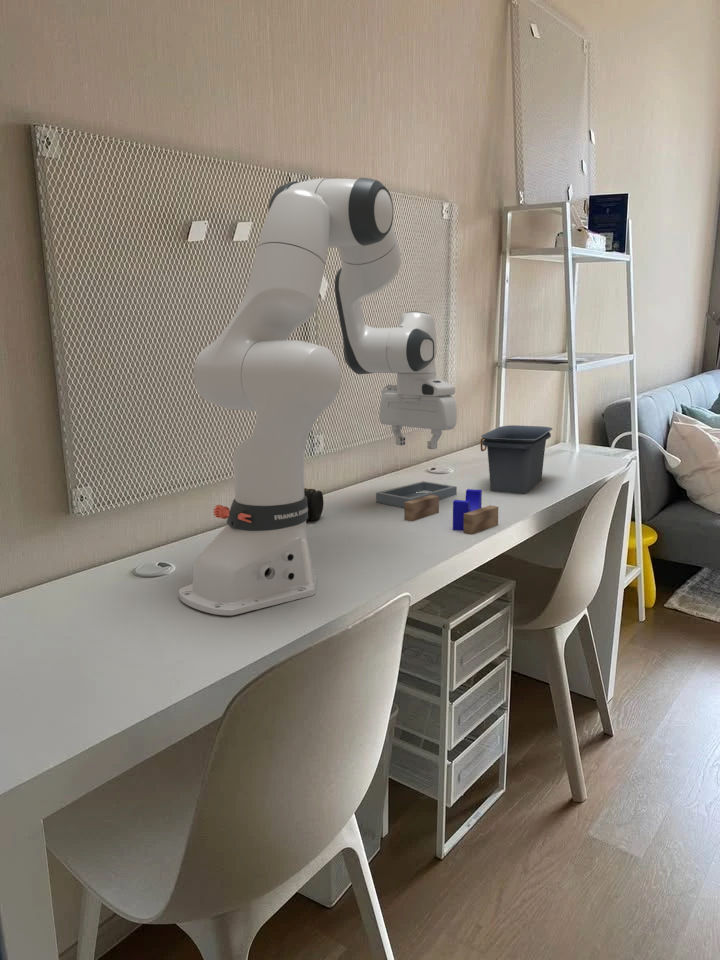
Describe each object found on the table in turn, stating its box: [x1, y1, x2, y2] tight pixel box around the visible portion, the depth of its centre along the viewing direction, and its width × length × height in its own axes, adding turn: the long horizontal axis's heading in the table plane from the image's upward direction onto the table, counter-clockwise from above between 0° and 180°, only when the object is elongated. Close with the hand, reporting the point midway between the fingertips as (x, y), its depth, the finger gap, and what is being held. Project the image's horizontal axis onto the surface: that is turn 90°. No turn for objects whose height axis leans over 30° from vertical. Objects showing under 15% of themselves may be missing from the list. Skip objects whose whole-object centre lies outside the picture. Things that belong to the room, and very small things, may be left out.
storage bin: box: [480, 424, 553, 495], centre depth 184 cm, size 21×16×14 cm
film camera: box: [304, 487, 324, 522], centre depth 158 cm, size 18×12×10 cm
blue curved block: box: [452, 488, 483, 532], centre depth 153 cm, size 12×4×6 cm, turn 158°
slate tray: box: [375, 480, 458, 509], centre depth 174 cm, size 17×10×2 cm, turn 136°
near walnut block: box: [463, 504, 499, 536], centre depth 149 cm, size 9×2×4 cm, turn 136°
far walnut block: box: [403, 495, 440, 522], centre depth 159 cm, size 9×2×4 cm, turn 136°
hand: (416, 446), depth 172 cm, fingers open, 8 cm apart
